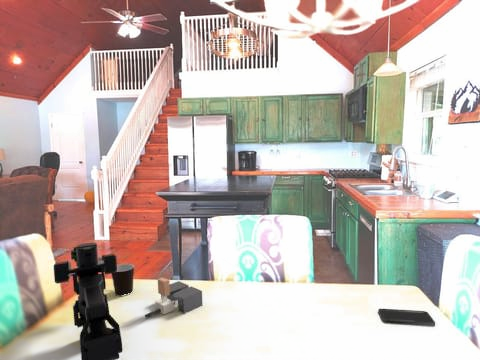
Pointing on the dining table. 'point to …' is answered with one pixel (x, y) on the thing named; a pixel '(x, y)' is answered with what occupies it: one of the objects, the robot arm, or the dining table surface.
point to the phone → (406, 317)
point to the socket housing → (185, 296)
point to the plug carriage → (163, 299)
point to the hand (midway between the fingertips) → (84, 261)
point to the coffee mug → (123, 279)
